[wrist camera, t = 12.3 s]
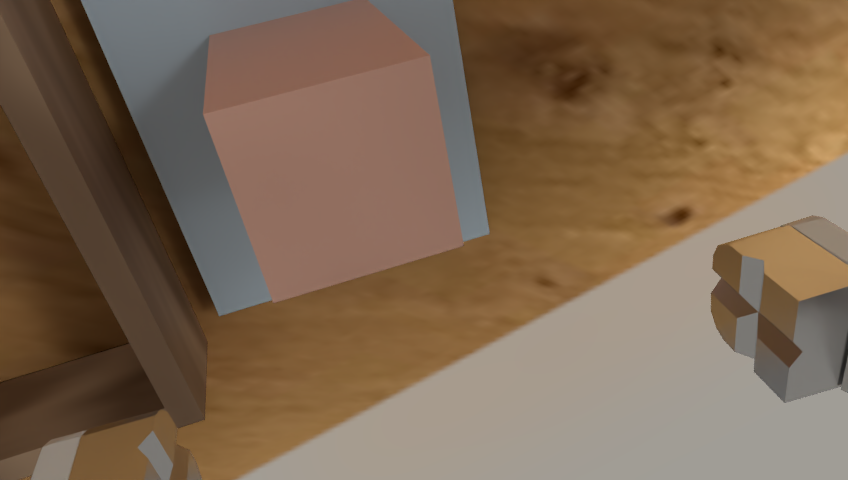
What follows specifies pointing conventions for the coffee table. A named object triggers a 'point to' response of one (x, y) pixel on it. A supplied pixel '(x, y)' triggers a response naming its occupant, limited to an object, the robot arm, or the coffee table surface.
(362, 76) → the block
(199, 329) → the wooden frame
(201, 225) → the mat
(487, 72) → the coffee table surface
